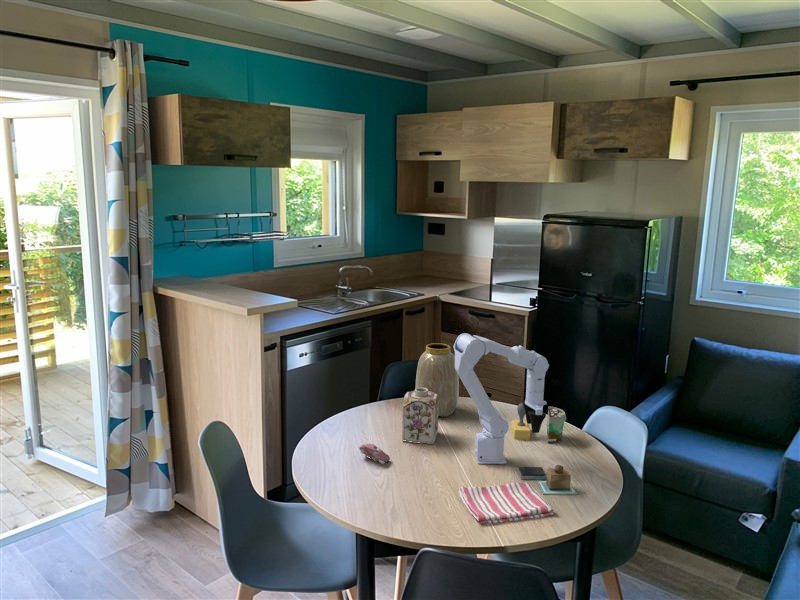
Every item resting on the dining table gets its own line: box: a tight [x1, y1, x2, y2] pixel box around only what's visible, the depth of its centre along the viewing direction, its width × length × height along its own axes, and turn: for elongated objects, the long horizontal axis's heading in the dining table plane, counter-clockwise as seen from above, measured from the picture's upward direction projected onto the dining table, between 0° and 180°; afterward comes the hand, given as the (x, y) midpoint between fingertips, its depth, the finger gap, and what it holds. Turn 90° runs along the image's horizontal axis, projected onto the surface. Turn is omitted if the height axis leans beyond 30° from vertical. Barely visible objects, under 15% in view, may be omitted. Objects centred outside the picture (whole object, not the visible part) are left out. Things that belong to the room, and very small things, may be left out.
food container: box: [546, 406, 567, 444], centre depth 220 cm, size 12×6×10 cm, turn 168°
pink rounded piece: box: [359, 442, 391, 463], centre depth 201 cm, size 10×5×7 cm, turn 48°
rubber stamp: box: [510, 402, 532, 441], centre depth 224 cm, size 10×6×12 cm, turn 176°
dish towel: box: [458, 482, 556, 526], centre depth 174 cm, size 17×23×4 cm
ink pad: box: [516, 466, 547, 481], centre depth 192 cm, size 8×6×2 cm
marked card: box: [536, 480, 578, 496], centre depth 184 cm, size 10×8×1 cm
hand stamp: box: [546, 464, 572, 491], centre depth 184 cm, size 6×4×7 cm, turn 91°
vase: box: [415, 342, 460, 417], centre depth 244 cm, size 17×17×27 cm
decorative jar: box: [401, 387, 439, 445], centre depth 219 cm, size 12×12×18 cm
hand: (532, 427), depth 206 cm, fingers open, 7 cm apart
